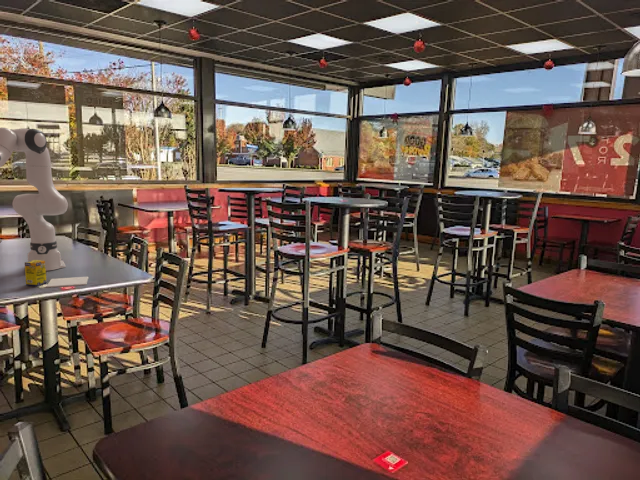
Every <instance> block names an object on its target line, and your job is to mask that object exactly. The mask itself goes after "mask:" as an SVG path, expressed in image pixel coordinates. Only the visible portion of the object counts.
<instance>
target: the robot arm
mask: <svg viewBox="0 0 640 480" xmlns="http://www.w3.org/2000/svg"><path fill="white" fill-rule="evenodd" d="M47 142H48V141H47V137H46V135H45V133H44V131H41V130H40V129H37V128H25V127H24V128H14V129H12V128H11V129H9V128H6V127H0V168H2V167H3V166H5V164H6V163H7V162H8V160H9V159H10V158H11V156H12V154H13V152H21V153H24V154H25V173H26V181H27V183H28V184H29V185H30V186H33V187H35V188H36V190H37V191H38V193H22V194H18V195H16V196H15V197H14V198H13V200H12V208H13V210H14V212H15V213H17V214H18V215H20V217H22V218H23V220H24V221H25V223H26V224H27V226H28V229H29V235H30V236H29V237H30V245H29V247H30V248H29V249H30V251H29V252H28V253H27V262H29V261H33V260H41V261H45V268H46V272H47V271H48V272H49V271H55V270H58V269H64V268H66V263H65V262H64V260H63V258H62V256H61V252H60V251H59V249H58V243H57V240H56V230H55V226H54V225H53V224H52V223H50V222H49V221H47V220H46V219H45V218H44V216H59V215H64V214H65V213H66V212H67V210H68V207H69V203H68V200H67V198H66V197H65V196H64V195H62V194H61V193H60V192H59V191H58V190H57V188H56V186H55V185H54V182H53V175H52V174H53V173H52V161H51V155H50V151H49V149H48V147H47ZM2 242H3V240H2V239H1V238H0V244H1V243H2ZM24 270H25V267H24Z"/></svg>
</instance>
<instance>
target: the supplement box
mask: <svg viewBox="0 0 640 480" xmlns="http://www.w3.org/2000/svg"><path fill="white" fill-rule="evenodd" d="M24 268H25V269H24V273H25V274H24V275H25V276H24V277H25V285H26V286H28V287H39V286H43V285H47V284H48V283H47V271H46V268H45V261H41V260H33V261H29V262H28V261H26V262H24Z"/></svg>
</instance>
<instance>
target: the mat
mask: <svg viewBox="0 0 640 480" xmlns="http://www.w3.org/2000/svg"><path fill="white" fill-rule="evenodd" d="M88 281H89V276H77V277H62V278H60V277H58V278H51V279H50V281H48V283H47V284H46V288H62V287H73V286H75V287H77V286H87V284H88Z"/></svg>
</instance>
